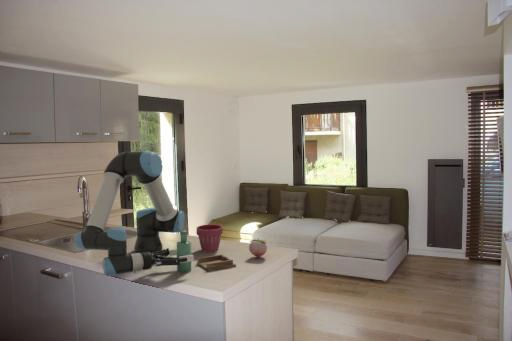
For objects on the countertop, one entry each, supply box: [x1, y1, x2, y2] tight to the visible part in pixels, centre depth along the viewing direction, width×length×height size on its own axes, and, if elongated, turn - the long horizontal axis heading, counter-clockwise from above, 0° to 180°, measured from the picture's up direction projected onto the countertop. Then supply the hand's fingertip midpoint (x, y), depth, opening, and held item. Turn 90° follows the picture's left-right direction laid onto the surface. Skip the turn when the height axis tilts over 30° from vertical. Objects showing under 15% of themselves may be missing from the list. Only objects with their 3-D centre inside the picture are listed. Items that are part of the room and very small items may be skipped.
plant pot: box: [196, 223, 224, 253], centre depth 221 cm, size 14×14×13 cm
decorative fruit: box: [248, 239, 268, 258], centre depth 205 cm, size 9×8×10 cm
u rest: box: [196, 253, 237, 272], centre depth 193 cm, size 14×14×3 cm
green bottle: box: [176, 229, 192, 274], centre depth 184 cm, size 6×6×18 cm
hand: (188, 254), depth 185 cm, fingers open, 13 cm apart
